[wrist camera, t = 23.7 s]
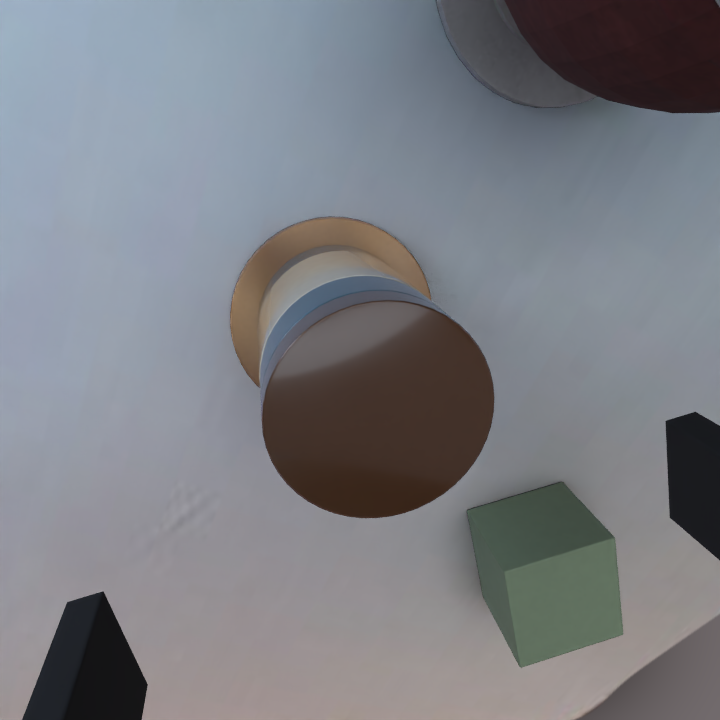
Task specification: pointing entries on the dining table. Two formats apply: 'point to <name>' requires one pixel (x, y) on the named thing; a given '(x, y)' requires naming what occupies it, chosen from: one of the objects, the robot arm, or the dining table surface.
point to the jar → (366, 386)
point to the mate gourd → (591, 50)
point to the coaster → (290, 246)
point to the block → (547, 572)
